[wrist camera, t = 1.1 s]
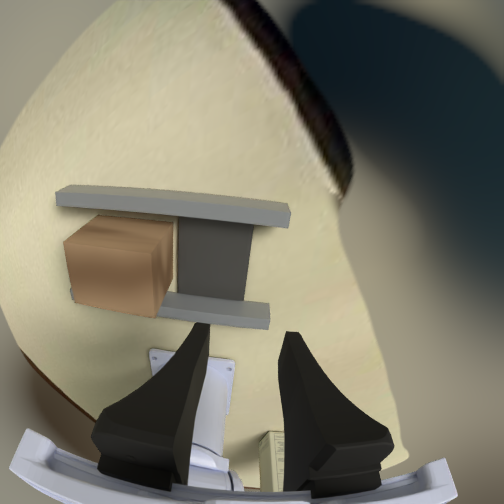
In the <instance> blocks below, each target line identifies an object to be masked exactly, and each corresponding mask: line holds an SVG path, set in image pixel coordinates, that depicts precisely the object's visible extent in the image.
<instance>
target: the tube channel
mask: <svg viewBox="0 0 504 504" xmlns="http://www.w3.org/2000/svg"><path fill="white" fill-rule="evenodd" d="M55 194H56V206H68V207H82V208H95V209H108V210H120V211H131V212H143V213H153V214H164V215H174V216H179V253H178V293H176V292H169V291H167V293H166V295H165V297H164V299H163V302H162V304H161V306H160V308H159V311H158V313H157V315H156V316H159V317H165V318H172V319H178V320H185V321H192V322H200V323H208V324H216V325H224V326H233V327H242V328H252V329H263V330H268V328H269V324H270V308H269V303H260V302H250V301H244V294H245V287H246V279H247V272H248V264H249V257H250V250H251V242H252V235H253V228H254V224H256V225H264V226H273V227H281V228H288V227H289V222H290V216H291V211H290V209H289V206H288V204H287V203H281V202H273V201H266V200H258V199H250V198H241V197H232V196H223V195H214V194H204V193H193V192H182V191H170V190H158V189H144V188H129V187H111V186H89V185H69V186H67V187H65V188H63V189H61V190H59V191H57V192H55ZM70 292H71V296H72V300H74V296H73V291H72V288H71V289H70Z"/></svg>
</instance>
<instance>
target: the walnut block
mask: <svg viewBox="0 0 504 504" xmlns="http://www.w3.org/2000/svg"><path fill="white" fill-rule="evenodd" d="M63 244H64V250H65V256H66V262H67V267H68V272H69V277H70V282H71V287H72V291H73V296H74V300H75V303H79V304H83V305H88V306H92V307H97V308H102V309H107V310H112V311H117V312H122V313H127V314H133V315H138V316H144V317H150V318H156V315H157V313H158V311H159V308H160V306H161V304H162V302H163V299H164V297H165V295H166V293H167V290H168V288H169V286H170V284H171V282H172V279H173V222H166V221H156V220H146V219H136V218H125V217H115V216H104V215H98V216H96V217H95V218H94V219H92V220H91V221H90V222H88V223H87V224H86V225H84V226H83V227H82V228H80V229H79V230H78V231H77V232H75V233H74V234H73V235H72V236H70V237H69V238H68V239H67V240H65V241H64V242H63Z"/></svg>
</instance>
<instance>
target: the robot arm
mask: <svg viewBox="0 0 504 504" xmlns="http://www.w3.org/2000/svg"><path fill="white" fill-rule="evenodd" d="M209 340H210V324H208V323H200V322H197V323H195V324H194V326H193V328H192V330H191V332H190V333H189V335H188V336H187V338H186V339H185V341H184V342H183V343H182V345H181V346H180V347H179V349H178V350H177V351H176V352H171V351H165V350H160V349H153V348H152V349H150V351H149V358H150V364H151V370H152V375H153V377H152V378H151V379H149V380H148V381H147V382H146V383H145V384H143V385H142V386H141V387H139V388H138V389H137V390H135V391H134V392H132V393H131V394H129V395H128V396H126V397H125V398H123V399H122V400H120V401H118V402H116V403H114V404H112V405H111V406H109V407H107V408H105V409H103V411H102V413H101V414H100V416H99V418H98V419H97V421H96V423H95V426H94V429H93V432H92V435H91V438H92V441H93V442H94V444H95V445H96V447H97V448H98V450H99V451H100V452H101V457H100V460H99V463H95V462H92V461H90V460H87V459H84V458H82V457H79V456H76V455H74V454H71V453H69V452H67V451H64V450H62V449H60V448H57V447H56V445H55V444H54V443H53V442H52V441H51V440H50V439H48V438H47V437H45V436H43V435H41V434H39V433H37V432H35V431H33V430H31V429H29V428H27V429H26V431H25V433H24V435H23V437H22V439H21V441H20V444H19V446H18V448H17V450H16V453H15V455H14V457H13V459H12V462H11V464H10V467H9V469H10V470H11V471H12V472H13V473H15V474H16V475H17V476H19V477H20V478H21V479H23V480H24V481H25V482H27V483H28V484H29V485H31V486H32V487H34V488H35V489H37V490H39V491H41V492H42V493H44V494H46V495H48V496H50V497H52V498H54V499H56V500H58V501H60V502H62V503H64V504H445V503H447V502H449V501H451V500H452V499H454V498H456V497H457V491H456V488H455V485H454V482H453V479H452V476H451V473H450V470H449V467H448V465H447V462H446V459H445V458H441V459H439V460H435V461H432V462H429V463H427V464H425V465H423V466H421V467H420V468H419V469H418V470H417V471H415V472H412V473H408V474H405V475H401V476H397V477H393V478H388V479H384V480H381V479H380V474H379V471H381V464H380V462H381V461H383V460H384V459H385V458H386V457H387V456H388V455H389V454H390V453H391V452H392V451H393V449H394V443H393V440H392V437H391V434H390V432H389V429H388V428H387V427H385V426H384V425H382V424H380V423H379V422H377V421H375V420H374V419H372V418H371V417H369V416H368V415H367V414H365V413H364V412H363V411H361V410H360V409H359V408H358V407H356V406H355V405H354V404H353V403H352V402H351V401H350V400H348V399H347V398H346V397H345V396H344V395H343V394H342V393H341V392H340V391H339V390H338V388H337V387H336V386H335V385H334V384H333V383H332V382H331V380H330V379H329V378H328V377H327V375H326V374H325V373H324V371H323V370H322V368H321V367H320V366H319V364H318V363H317V361H316V360H315V358H314V357H313V355H312V353H311V352H310V350H309V348H308V347H307V345H306V343H305V342H304V340H303V338H302V336H301V334H300V333H299V332H288V331H286V334H285V337H284V341H283V345H282V349H281V352H280V356H279V360H278V381H279V389H280V396H281V403H282V410H283V418H284V479H283V492H247V491H244V487H243V483H242V481H241V479H240V478H239V476H238V474H237V473H236V472H235V471H234V470H230V469H229V459H227V458H223V444H224V430H225V418H226V415H228V414H229V407H230V399H231V392H232V384H233V377H234V369H235V362H234V361H233V360H230V359H222V358H213V357H209ZM228 367H229V368H228Z"/></svg>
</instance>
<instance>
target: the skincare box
mask: <svg viewBox="0 0 504 504" xmlns="http://www.w3.org/2000/svg"><path fill="white" fill-rule="evenodd" d="M259 466H260V492H283V479H284V432H272V431H269V432H268V433H267V434H266V435H265V437H264V438H263V439H262V440H261V441H260V443H259Z"/></svg>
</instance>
